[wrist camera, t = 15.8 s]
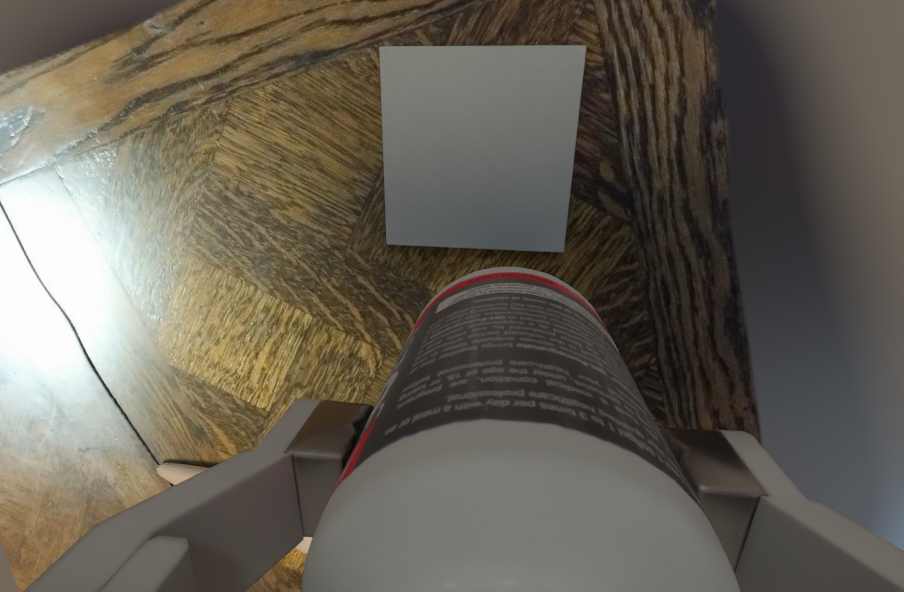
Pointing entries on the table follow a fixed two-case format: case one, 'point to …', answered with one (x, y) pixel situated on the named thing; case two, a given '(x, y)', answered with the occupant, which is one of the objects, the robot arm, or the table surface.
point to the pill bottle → (513, 461)
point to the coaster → (479, 144)
